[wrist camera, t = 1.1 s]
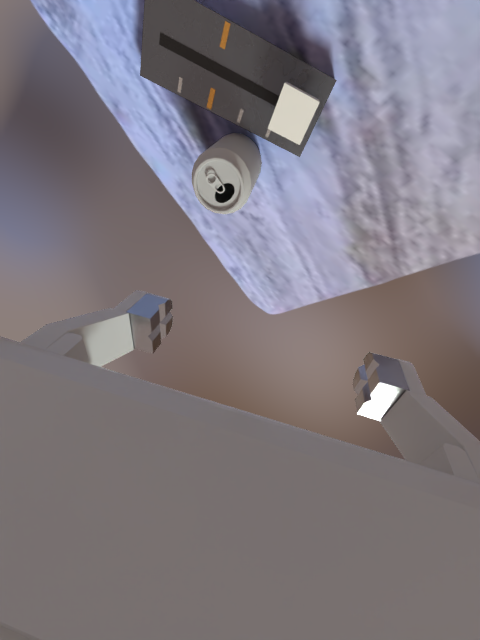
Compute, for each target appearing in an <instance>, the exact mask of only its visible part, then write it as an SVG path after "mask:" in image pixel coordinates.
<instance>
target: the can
mask: <svg viewBox="0 0 480 640" xmlns="http://www.w3.org/2000/svg"><path fill="white" fill-rule="evenodd" d="M261 164H262V162H261V155H260V152H259V150H258V148H257V145H256V144H255V143H254V142H253V141H252V140H251V138H249V137H247V136H245V135H244V134H240V133H231V134H227V135H225V136H224V137H223V138H221V139H220V140H219V141H217V142H216V143H215V144H213V145H212V146H211V147H210V148H208V149H207V150H206V151H205V152H203V153H202V154H201V155H200V156H199V157H198V159H197V160H196V162H195V163H194V167H193V171H192V185H193V188H194V191H195V194H196V197H197V198H198V200H199V201H200V203H201V204H202V205H203V206H204V207H205V208H206V209H208V210H210V211H212V212H214V213H220V214H229V213H234V212H235V211H237V210H239V209H241V208H242V206H243V205H244V204H245V203H246V202H247V200H248V198H249V196H250V194H251V191H252V189H253V187H254V185H255V183H256V181H257V179H258V176H259V174H260V171H261Z"/></svg>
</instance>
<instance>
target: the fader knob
mask: <svg viewBox="0 0 480 640" xmlns="http://www.w3.org/2000/svg"><path fill="white" fill-rule="evenodd" d="M319 103H320V101H319V99H317V98H315V97H314V96H312V95H310V94H308V93H306V92H304V91H303V90H301V89H299V88H297V87H295V86H293V85H292V84H290V83H288V82H285V83H284V86H283V88H282V91H281V94H280V96H279V99H278V102H277V105H276V107H275V110H274V113H273V115H272V118H271V121H270V123H269V126H268V129H269V130H271V131H273V132H275V133H277V134H279V135H281V136H283V137H285V138H287V139H289V140H291V141H293V142H294V143H296V144H298V145H300V144H301V141H302V139H303V137H304V135H305V133H306V131H307V129H308V126H309V124H310V122H311V120H312V118H313V116H314V113H315V111H316V109H317V107H318V105H319Z"/></svg>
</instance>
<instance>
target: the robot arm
mask: <svg viewBox="0 0 480 640" xmlns="http://www.w3.org/2000/svg"><path fill="white" fill-rule="evenodd" d="M171 309H172V301H171V299H168V298H165V297H161V296H158V295H154V294H151V293H147V292H143V291H139V290H136V291H134V292H133V293H132V294H131V295H129V296H128V297H127V298H126V299H125V300H123V301H122V302H121V303H120V304H119V305H117V306H116V307H115V308H114V309H111V308H108V309H104V310H100V311H96V312H92V313H88V314H85V315H81V316H78V317H73V318H69V319H65V320H62V321H58V322H54V323H50V324H46V325H45V326H43V327H42V328H40V329H39V330H38V331H36V332H35V333H33V334H32V335H30V336H29V337H28V338H26V339H24V340H23V341H21V342H17V341H14V340H11V339H8V338H4V337H1V336H0V640H480V441H479V440H477V439H476V438H475V437H474V436H473V435H472V434H471V433H470V432H469V431H467V430H466V429H465V428H464V427H463V426H462V425H461V424H460V423H459V422H458V421H456V419H454V418H453V417H452V416H451V415H450V414H449V413H448V412H447V411H446V410H445V409H443V408H442V407H441V406H440V405H439V404H438V403H437V402H436V401H435V400H434V399H432V398H431V397H428V396H426V394H425V391H424V389H423V387H422V384H421V382H420V379H419V377H418V375H417V372H416V370H415V368H414V365H413V364H411V362H408V361H403V360H399V359H393V358H389V357H386V356H382V355H378V354H374V353H370V352H369V353H368V354H367V355H366V356H365V358H364V359H363V360H364V365H362V366H360V367H359V368H358V369H357V371H356V373H355V376H354V379H353V388H354V391H355V392H356V393H357V397H356V398H355V402H356V408H357V413H358V414H360V415H364V416H367V417H370V418H373V419H376V420H379V421H380V423H381V424H382V426H383V427H384V429H385V430H386V431H387V433H388V434H389V436H390V438H391V439H392V440H393V442H394V443H395V445H396V446H397V448H398V449H399V451H400V452H401V454H402V455H403V457H404V458H405V459H406V460H402V459H399V458H396V457H393V456H390V455H386V454H383V453H380V452H376V451H373V450H370V449H366V448H363V447H360V446H357V445H353V444H350V443H347V442H344V441H340V440H337V439H334V438H330V437H327V436H324V435H320V434H318V433H314V432H311V431H308V430H305V429H301V428H298V427H295V426H292V425H288V424H285V423H281V422H278V421H275V420H272V419H269V418H266V417H262V416H259V415H256V414H252V413H249V412H246V411H243V410H239V409H236V408H233V407H230V406H226V405H223V404H220V403H216V402H213V401H210V400H207V399H203V398H200V397H197V396H194V395H190V394H187V393H184V392H180V391H177V390H174V389H171V388H167V387H164V386H161V385H157V384H154V383H151V382H148V381H145V380H141V379H138V378H134V377H132V376H128V375H125V374H121V373H118V372H115V371H112V370H108V369H105V368H102V367H101V366H103V365H105V364H107V363H109V362H111V361H112V360H114V359H117V358H119V357H121V356H122V355H124V354H126V353H128V352H130V351H132V350H134V349H137V350H141V351H145V352H149V353H154V352H155V351H156V349H157V348H158V347H159V346H160V344H161V339H162V338H164V337H166V336H167V335H168V334H169V332H170V330H171V327H172V322H173V316H172V315H171V313H170V310H171Z"/></svg>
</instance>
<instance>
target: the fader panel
mask: <svg viewBox="0 0 480 640" xmlns="http://www.w3.org/2000/svg"><path fill="white" fill-rule="evenodd" d="M140 76H142V77H144V78H146V79H148V80H150V81H152V82H154V83H156V84H158V85H160V86H162V87H164V88H166V89H168V90H170V91H172V92H174V93H176V94H177V95H179V96H181V97H183V98H185V99H187V100H189V101H191V102H193V103H195V104H197V105H199V106H201V107H203V108H205V109H207V110H209V111H211V112H213V113H215V114H217V115H219V116H221V117H223V118H225V119H226V120H228V121H230V122H232V123H234V124H236V125H238V126H240V127H242V128H244V129H246V130H248V131H250V132H252V133H254V134H256V135H258V136H260V137H262V138H264V139H266V140H268V141H270V142H272V143H274V144H275V145H277V146H279V147H281V148H283V149H285V150H287V151H289V152H291V153H293V154H295V155H297V156H299V157H300V155H301V153H302V151H303V149H304V147H305V145H306V143H307V141H308V139H309V137H310V135H311V132H312V130H313V128H314V126H315V124H316V122H317V120H318V118H319V116H320V114H321V112H322V109H323V107H324V105H325V103H326V101H327V99H328V97H329V95H330V93H331V91H332V89H333V87H334V84H335V82H336V80H335V79H333V78H332V77H330V76H328V75H326V74H324V73H323V72H321V71H319V70H317V69H316V68H314V67H312V66H310V65H308V64H307V63H305V62H303V61H301V60H299V59H298V58H296V57H294V56H292V55H291V54H289V53H287V52H285V51H283V50H282V49H280V48H278V47H276V46H275V45H273V44H271V43H269V42H267V41H266V40H264V39H262V38H260V37H259V36H257V35H255V34H253V33H251V32H250V31H248V30H246V29H244V28H243V27H241V26H239V25H237V24H235V23H234V22H232V21H230V20H228V19H226V18H225V17H223V16H221V15H219V14H218V13H216V12H214V11H212V10H210V9H209V8H207V7H205V6H203V5H202V4H200V3H198V2H196V1H194V0H145V4H144V20H143V37H142V53H141V70H140ZM285 82H288V83H290V84H292V85H293V86H295V87H297V88H299V89H301V90H303V91H304V92H306V93H308V94H310V95H312V96H314V97H315V98H317V99H319V101H320V103H319V105H318V107H317V109H316V111H315V113H314V116H313V118H312V120H311V122H310V124H309V126H308V129H307V131H306V133H305V135H304V137H303V139H302V141H301V144H300V145H298V144H296V143H294V142H293V141H291V140H289V139H287V138H285V137H283V136H281V135H279V134H277V133H275V132H273V131H271V130H269V129H268V126H269V123H270V121H271V118H272V115H273V113H274V110H275V107H276V105H277V102H278V99H279V96H280V94H281V91H282V88H283V86H284V83H285Z"/></svg>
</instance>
